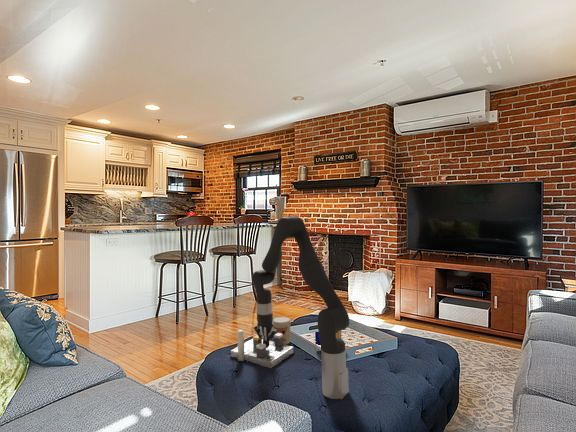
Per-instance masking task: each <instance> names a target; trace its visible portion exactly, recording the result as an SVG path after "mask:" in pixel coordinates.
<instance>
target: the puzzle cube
mask: <svg viewBox="0 0 576 432" xmlns="http://www.w3.org/2000/svg"><path fill="white" fill-rule="evenodd" d="M314 333H315V336H314V337H315V338H314V339H315V345H316V344H318V345H321V344H320V341H319V333H318V329H317V330H316V331H315V332H314ZM336 338H339V339H342V330H341V331H338V332H336ZM342 340H343V339H342Z"/></svg>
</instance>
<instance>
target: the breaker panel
mask: <svg viewBox="0 0 576 432" xmlns="http://www.w3.org/2000/svg"><path fill="white" fill-rule="evenodd" d="M262 344H263V340H262ZM244 351H245V354H244V358H245V360H247V361H246V362H248V361H251V362H254V363H253V364H255V363H257V364H256V365H258V364H260V365H259V366H262V367H264V368H269V369H273V368H274V367H276V366H277V365H278V364H280V363H281V362H282V360H283V361H284V360H285V359H287V358H288V357H290V356H291V355H294V346H291V345H289V344H286V345H285V344H283V345H281V346H280V347H279V346H275V341H273V340H269V347H268V348H266V356H264V357H263V358H260V357H257V348H254V347H253V338H251V339H250V340H248V341H244ZM289 355H290V356H289ZM230 357H231V358H234V357H236V358H235V359H238V346H237V347H234V348H233V349H231V350H230ZM286 357H287V358H286ZM251 362H250V363H251ZM272 367H273V368H272Z"/></svg>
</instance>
